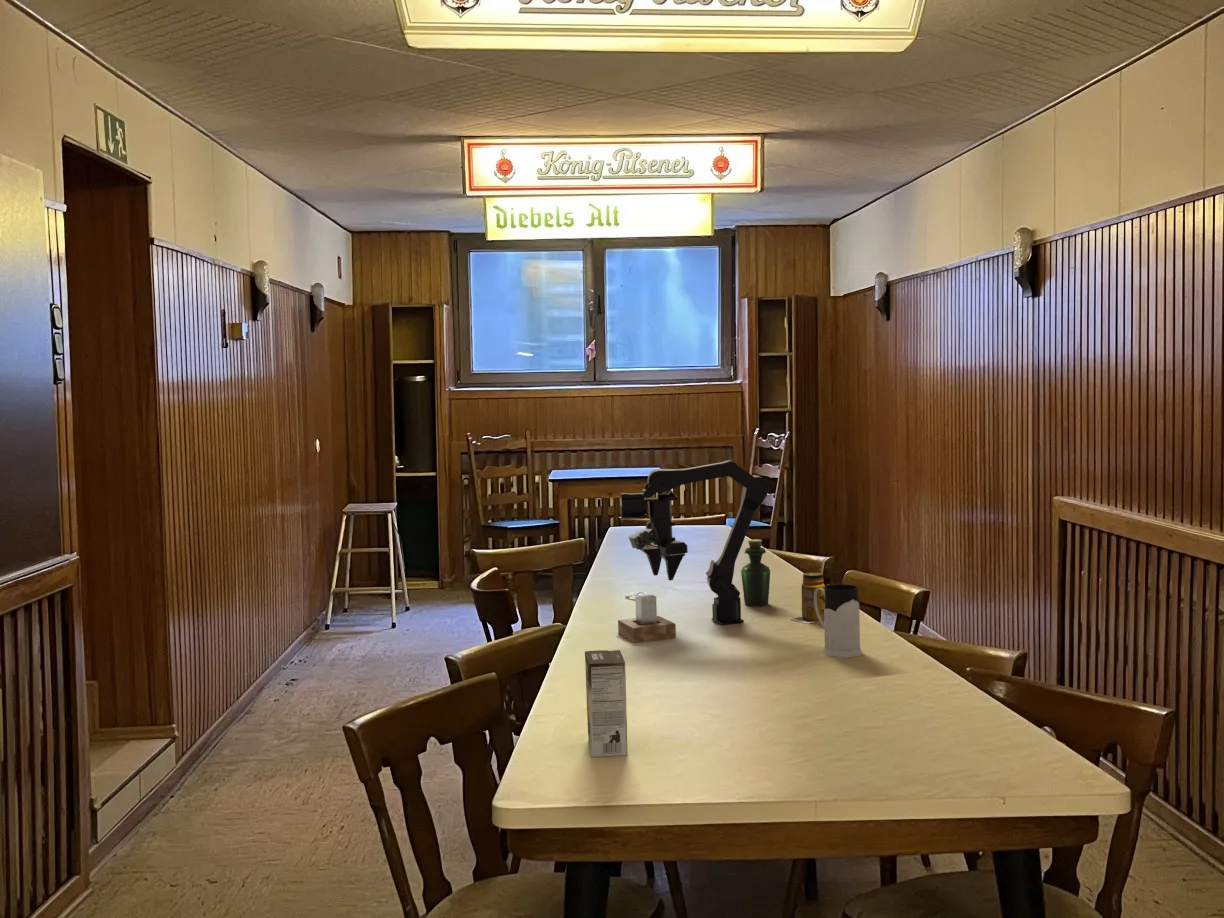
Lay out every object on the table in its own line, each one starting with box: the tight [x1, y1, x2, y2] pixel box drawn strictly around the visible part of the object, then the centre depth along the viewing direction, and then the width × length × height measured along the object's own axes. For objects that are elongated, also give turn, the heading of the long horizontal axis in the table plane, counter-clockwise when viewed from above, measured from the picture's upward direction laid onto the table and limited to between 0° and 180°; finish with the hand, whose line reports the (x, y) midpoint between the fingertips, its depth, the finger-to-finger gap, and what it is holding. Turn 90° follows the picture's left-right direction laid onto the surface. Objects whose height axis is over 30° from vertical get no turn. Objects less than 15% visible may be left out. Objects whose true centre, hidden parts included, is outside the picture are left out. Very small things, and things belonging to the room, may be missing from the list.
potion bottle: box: [740, 538, 771, 607], centre depth 317 cm, size 8×8×18 cm
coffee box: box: [584, 649, 628, 758], centre depth 195 cm, size 9×6×16 cm
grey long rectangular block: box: [635, 593, 658, 625], centre depth 281 cm, size 4×4×10 cm
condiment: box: [789, 572, 826, 624], centre depth 294 cm, size 7×8×12 cm
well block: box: [617, 615, 677, 643], centre depth 281 cm, size 11×11×4 cm
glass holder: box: [814, 583, 863, 658], centre depth 260 cm, size 9×14×15 cm, turn 27°
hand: (663, 577), depth 295 cm, fingers open, 9 cm apart
